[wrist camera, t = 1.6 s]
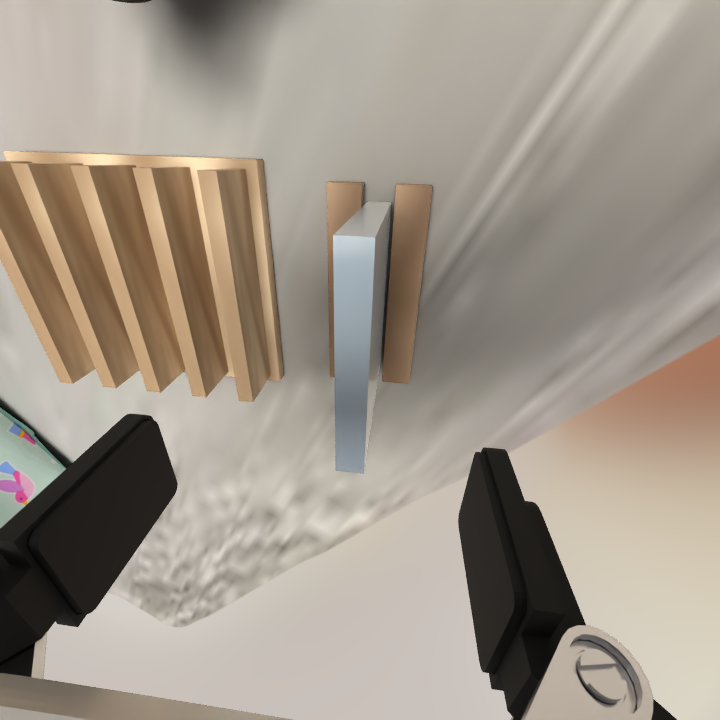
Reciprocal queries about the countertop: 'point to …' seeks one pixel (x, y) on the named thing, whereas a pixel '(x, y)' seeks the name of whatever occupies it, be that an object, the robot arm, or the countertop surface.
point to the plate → (358, 328)
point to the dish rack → (144, 266)
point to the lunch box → (22, 466)
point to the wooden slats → (403, 267)
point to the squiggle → (133, 1)
